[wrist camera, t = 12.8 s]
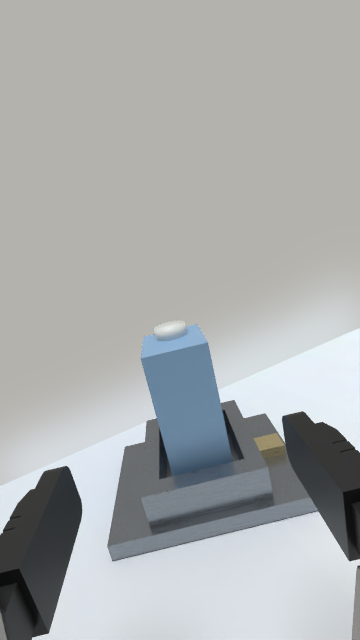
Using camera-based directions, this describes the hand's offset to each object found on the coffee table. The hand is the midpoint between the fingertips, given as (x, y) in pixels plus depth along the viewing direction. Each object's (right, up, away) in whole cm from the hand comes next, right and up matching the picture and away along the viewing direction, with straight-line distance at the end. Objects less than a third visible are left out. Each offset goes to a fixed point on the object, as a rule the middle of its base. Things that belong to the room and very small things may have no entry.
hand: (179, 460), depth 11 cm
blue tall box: (+2, -7, +13) cm, 15 cm away
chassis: (+2, -8, +13) cm, 16 cm away
